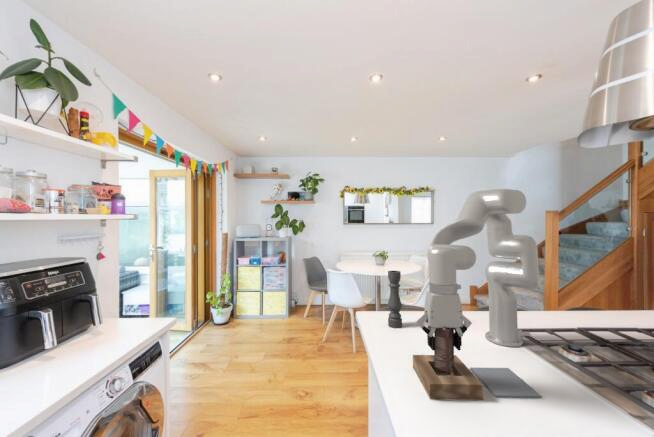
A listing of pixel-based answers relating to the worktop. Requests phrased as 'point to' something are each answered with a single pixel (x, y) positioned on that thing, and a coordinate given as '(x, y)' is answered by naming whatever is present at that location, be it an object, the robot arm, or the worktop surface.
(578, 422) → the worktop surface
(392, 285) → the candle holder
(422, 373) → the pocket block
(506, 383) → the mat
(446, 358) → the box
